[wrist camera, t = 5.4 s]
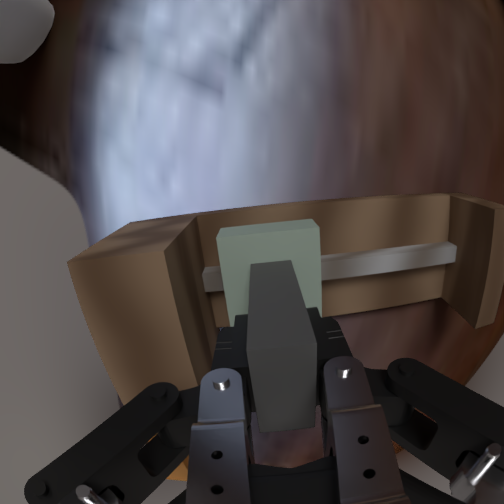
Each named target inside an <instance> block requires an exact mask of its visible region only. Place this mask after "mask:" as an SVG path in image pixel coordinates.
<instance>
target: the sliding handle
mask: <svg viewBox="0 0 504 504" xmlns="http://www.w3.org/2000/svg"><path fill="white" fill-rule="evenodd" d="M216 241H217V247H218V254H219V260H220V267H221V273H222V279H223V286H224V292H225V298H226V304H227V310H228V316H229V321H230V327H234V321H235V315H241V314H248V327H247V348H246V351H247V358H248V364H249V370H250V377H251V383H252V389H253V395H254V401H255V407H256V413H257V419H258V425H259V431H260V433H263V432H276V431H287V430H296V429H304V428H312V427H315V409H316V377H317V342H316V338H315V335H314V332H313V328H312V325H311V322H310V319H309V315H308V312H307V309H306V308H311V307H317V308H318V310H319V313H320V316H321V318H322V285H321V252H320V230H319V226H318V225H317V224H316V223H315V222H314V221H313V219H304V220H293V221H283V222H273V223H263V224H254V225H244V226H235V227H226V228H221V229H220V231H219V233H218V235H217V237H216Z"/></svg>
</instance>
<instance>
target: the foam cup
mask: <svg viewBox="0 0 504 504" xmlns="http://www.w3.org/2000/svg"><path fill="white" fill-rule="evenodd" d="M54 15H55V12H54V9H53V5H52V4H50V2H49V1H48V0H0V63H5V64H8V63H12V64H13V63H19V62H23V61H24V60H25V59H27V58H28V57H30V56H31V55H32V54H34V52H35V51H36V50H37V49H38V48H39V46H40V45H41V44H42V43H43V42H44V40H45V38H46V36H47V34H48V33H49V31H50V29H51V27H52V23H53V19H54Z"/></svg>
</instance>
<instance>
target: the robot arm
mask: <svg viewBox="0 0 504 504" xmlns="http://www.w3.org/2000/svg"><path fill="white" fill-rule="evenodd" d="M306 309H307V312H308V315H309V319H310V322H311V325H312V328H313V332H314V335H315V338H316V342H317V377H316V406H317V405H320V407H321V411H322V412H321V426H322V439H323V454H324V458H321V459H319V460H316V461H313V462H310V463H307V464H305V465H302V466H298V467H295V468H281V467H273V466H266V465H259V464H255V460H254V451H253V441H252V432H251V425H250V423H251V412H256V407H255V401H254V395H253V389H252V383H251V377H250V370H249V364H248V358H247V351H246V348H247V327H248V314H241V315H235V321H234V327H224V328H223V329H222V330H221V331H220V332H219V334H218V336H217V341H216V346H215V351H214V356H213V361H212V366H211V371H210V372H208V373H207V374H206V375H205V376H204V377H203V378H202V380H201V384H200V385H199V386H196V387H193V388H190V389H186V390H181V391H179V390H178V388H177V387H176V386H175V385H173V384H171V383H168V382H158V383H154V384H152V385H150V386H148V387H146V388H145V389H144V390H143V391H141V392H140V393H139V394H138V395H137V396H135V397H134V398H133V399H132V400H130V401H129V402H128V403H127V404H126V405H124V406H123V407H122V408H121V409H119V410H118V411H117V412H116V413H114V414H113V415H112V416H111V417H109V418H108V419H107V420H106V421H104V422H103V423H102V424H101V425H99V426H98V427H97V428H96V429H94V430H93V431H92V432H91V433H89V434H88V435H87V436H85V437H84V438H83V439H82V440H80V441H79V442H78V443H76V444H75V445H74V446H72V447H71V448H70V449H69V450H67V451H66V452H65V453H63V454H62V455H61V456H59V457H58V458H57V459H55V460H54V461H53V462H51V463H50V464H49V465H47V466H46V467H45V468H43V469H42V470H41V471H39V472H38V473H36V474H35V475H34V476H32V477H31V478H30V479H29V480H28V481H27V483H26V485H25V488H24V495H25V498H26V500H27V502H28V503H29V504H141V503H142V502H143V501H144V500H145V499H146V498H147V497H148V496H149V495H150V494H151V493H152V492H153V491H154V490H155V489H156V488H157V487H158V486H159V485H160V484H161V483H162V482H163V481H164V480H165V479H166V478H167V477H168V476H169V475H170V474H171V473H172V472H173V471H174V470H175V469H176V468H177V467H178V466H179V465H180V464H181V463H182V462H183V461H184V460H185V458H186V457H187V456H188V455H189V461H188V475H187V489H186V490H184V491H183V492H182V493H181V494H180V495H178V496H177V497H176V498H175V499H173V500H172V501H171V502H170V503H168V504H504V407H502V406H500V405H498V404H497V403H495V402H493V401H491V400H489V399H487V398H485V397H484V396H482V395H480V394H478V393H476V392H474V391H472V390H470V389H469V388H467V387H465V386H463V385H461V384H459V383H458V382H456V381H454V380H452V379H450V378H448V377H446V376H445V375H443V374H441V373H439V372H437V371H435V370H434V369H432V368H430V367H428V366H426V365H425V364H423V363H421V362H419V361H417V360H415V359H411V358H400V359H397V360H394V361H393V362H391V363H390V365H389V366H388V369H387V370H378V369H368V368H365V367H364V366H363V364H362V362H361V361H359V360H358V359H356V358H354V357H353V356H352V353H351V351H350V349H349V346H348V344H347V342H346V339H345V337H344V335H343V333H342V331H341V328H340V326H339V324H338V322H337V321H336V320H334V319H333V318H332V317H322V318H321V316H320V313H319V310H318V308H317V307H311V308H306ZM414 408H417V409H418V410H420V411H421V412H423V413H425V414H426V415H428V416H429V417H431V418H432V419H434V420H435V421H436V423H435V422H434V421H432V420H431V419H429V418H427V417H426V416H424V415H423V414H421V413H420V412H418V411H417V410H415V409H414ZM151 438H152V439H151ZM150 439H151V440H150ZM391 439H392V440H393V441H395V442H396V443H397V444H399V445H400V446H401V447H403V448H404V449H405V450H407V451H408V452H410V453H411V454H412V455H414V456H415V457H417V458H418V459H420V460H421V461H422V462H424V463H425V464H426V465H428V466H429V467H431V468H432V469H434V470H435V471H437V472H438V473H439V474H441V475H443V476H444V477H446V478H447V479H449V480H450V490H451V495H452V496H450V495H448V494H446V493H444V492H442V491H440V490H438V489H436V488H434V487H432V486H430V485H428V484H426V483H424V482H422V481H421V480H418V479H417V478H415V477H413V476H412V475H410V474H408V473H406V472H404V471H403V470H401V469H399V467H398V463H397V459H396V455H395V451H394V447H393V443H392V440H391ZM149 440H150V441H149ZM148 441H149V442H148ZM147 442H148V443H147ZM146 443H147V444H146ZM145 444H146V445H145ZM144 445H145V446H144Z"/></svg>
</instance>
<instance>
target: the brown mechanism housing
mask: <svg viewBox="0 0 504 504" xmlns="http://www.w3.org/2000/svg"><path fill="white" fill-rule="evenodd" d="M304 219H313V221H314V222H315V223H316V224H317V225H318V226H319V230H320V252H321V285H322V317H328V316H335V315H343V314H349V313H356V312H363V311H369V310H375V309H381V308H387V307H393V306H398V305H404V304H409V303H415V302H420V301H425V300H430V299H435V298H439V297H441V298H443V299H444V300H445V301H446V302H447V303H448V304H449V305H450V306H451V307H452V308H453V309H455V310H456V311H457V312H458V313H459V314H460V315H461V316H462V317H463V318H464V319H465V320H466V321H467V322H468V323H469V324H470V325H471V326H472V327H474V328H475V329H477V328H480V327H483V326H486V325H489V324H491V323H494V320H495V316H496V313H497V309H498V305H499V301H500V297H501V292H502V288H503V283H504V205H501V204H498V203H495V202H491V201H488V200H485V199H482V198H478V197H475V196H471V195H468V194H464V193H435V194H409V195H388V196H370V197H355V198H340V199H327V200H315V201H303V202H292V203H281V204H271V205H261V206H252V207H242V208H234V209H225V210H216V211H208V212H200V213H193V214H185V215H177V216H170V217H163V218H156V219H149V220H143V221H136V222H130V223H129V224H127V225H125V226H123V227H122V228H120V229H118V230H117V231H115V232H113V233H112V234H110V235H109V236H107V237H105V238H104V239H102V240H100V241H99V242H97V243H96V244H94V245H92V246H91V247H89V248H88V249H87V250H85V251H83V252H81V253H80V254H79V255H77V256H75V257H74V258H72V259H71V260H69V261H68V262H67V264H68V267H69V271H70V274H71V278H72V281H73V284H74V287H75V290H76V294H77V297H78V300H79V303H80V306H81V309H82V311H83V314H84V317H85V320H86V322H87V325H88V328H89V330H90V332H91V335H92V337H93V340H94V343H95V345H96V347H97V350H98V352H99V354H100V357H101V359H102V361H103V363H104V366H105V368H106V370H107V372H108V374H109V377H110V379H111V381H112V383H113V385H114V387H115V389H116V391H117V393H118V395H119V397H120V399H121V401H122V403H123V405H126V404H127V403H128V402H129V401H130V400H132V399H133V398H134V397H135V396H137V395H138V394H139V393H140V392H141V391H143V390H144V389H145V388H146V387H148V386H150V385H152V384H154V383H158V382H168V383H171V384H173V385H175V386H176V387H177V388H178V390H179V391H181V390H186V389H190V388H193V387H196V386H199V385H200V384H201V380H202V378H203V377H204V376H205V375H206V374H207V373H208V372H210V371H211V366H212V361H213V356H214V351H215V346H216V341H217V336H218V334H219V332H220V328H219V327H230V321H229V316H228V310H227V304H226V298H225V292H224V286H223V279H222V273H221V267H220V260H219V254H218V247H217V241H216V237H217V235H218V233H219V231H220V229H221V228H226V227H235V226H244V225H254V224H263V223H273V222H283V221H293V220H304ZM147 443H148V442H147ZM147 443H146V444H147Z"/></svg>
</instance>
